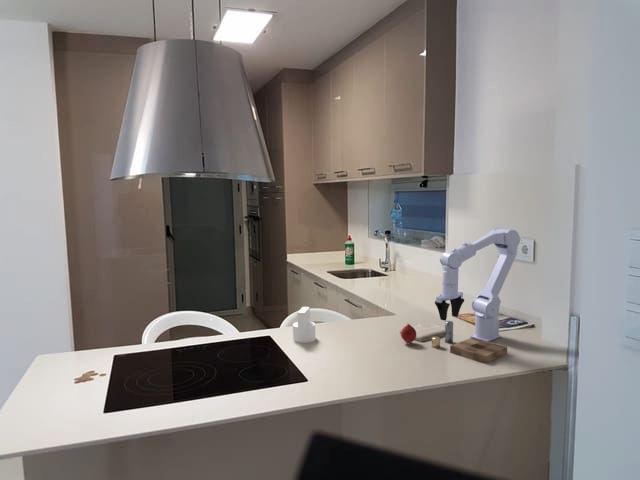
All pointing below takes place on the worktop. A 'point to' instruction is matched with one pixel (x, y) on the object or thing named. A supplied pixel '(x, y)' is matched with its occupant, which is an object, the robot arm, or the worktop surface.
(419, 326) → the washcloth
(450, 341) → the long steel pin
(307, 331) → the base with upright slab
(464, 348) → the walnut hole plate
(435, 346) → the short brass pin
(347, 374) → the worktop surface
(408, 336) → the onion
